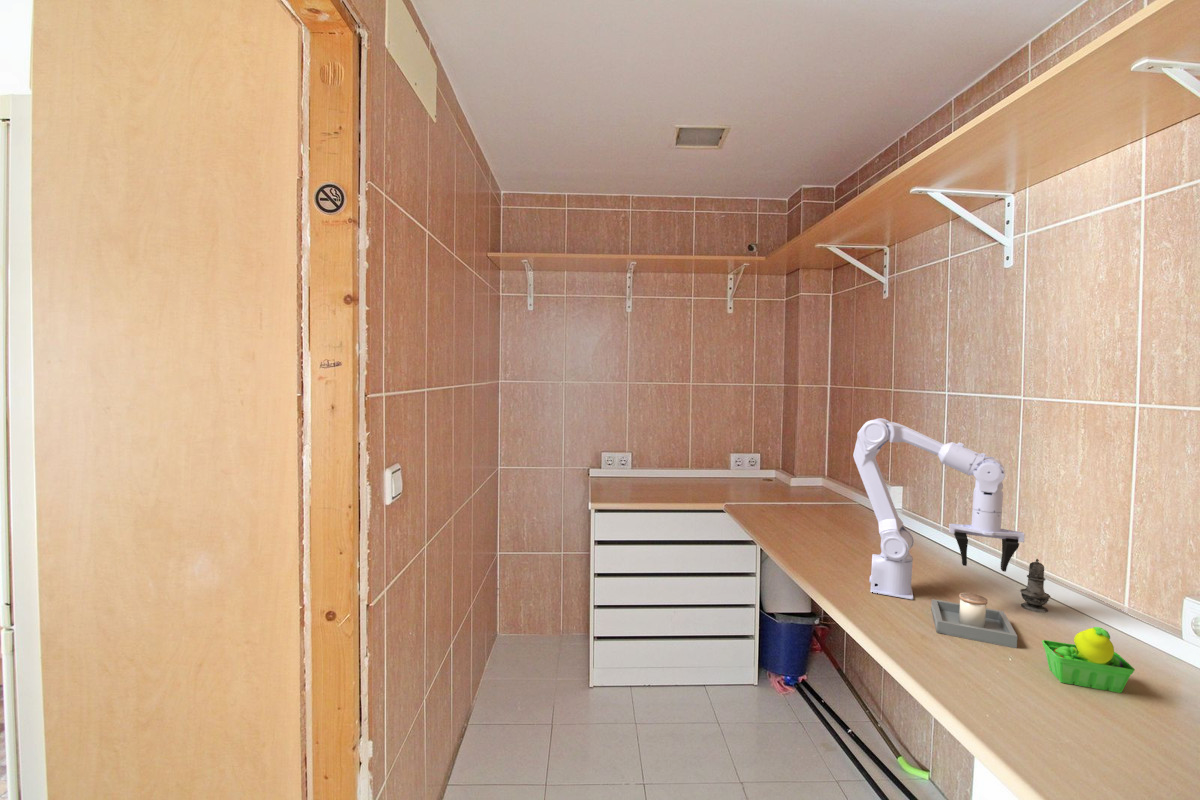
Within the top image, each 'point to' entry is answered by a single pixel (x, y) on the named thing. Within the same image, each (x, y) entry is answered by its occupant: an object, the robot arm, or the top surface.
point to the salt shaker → (1035, 589)
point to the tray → (994, 630)
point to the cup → (972, 610)
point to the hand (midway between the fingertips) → (983, 567)
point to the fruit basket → (1088, 661)
